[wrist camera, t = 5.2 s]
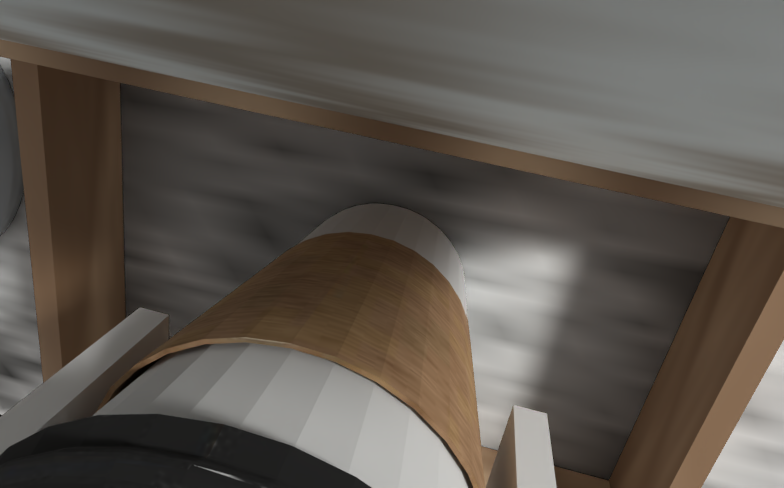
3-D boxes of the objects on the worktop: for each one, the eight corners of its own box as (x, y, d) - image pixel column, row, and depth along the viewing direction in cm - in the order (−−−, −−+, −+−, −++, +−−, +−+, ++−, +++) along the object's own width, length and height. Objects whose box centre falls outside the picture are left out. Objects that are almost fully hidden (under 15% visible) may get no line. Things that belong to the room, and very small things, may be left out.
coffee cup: (309, 392, 22) (-11, 1028, 8) (236, 193, 19) (-445, 635, 5) (522, 367, 19) (590, 1177, 6) (474, 139, 17) (390, 643, 3)
